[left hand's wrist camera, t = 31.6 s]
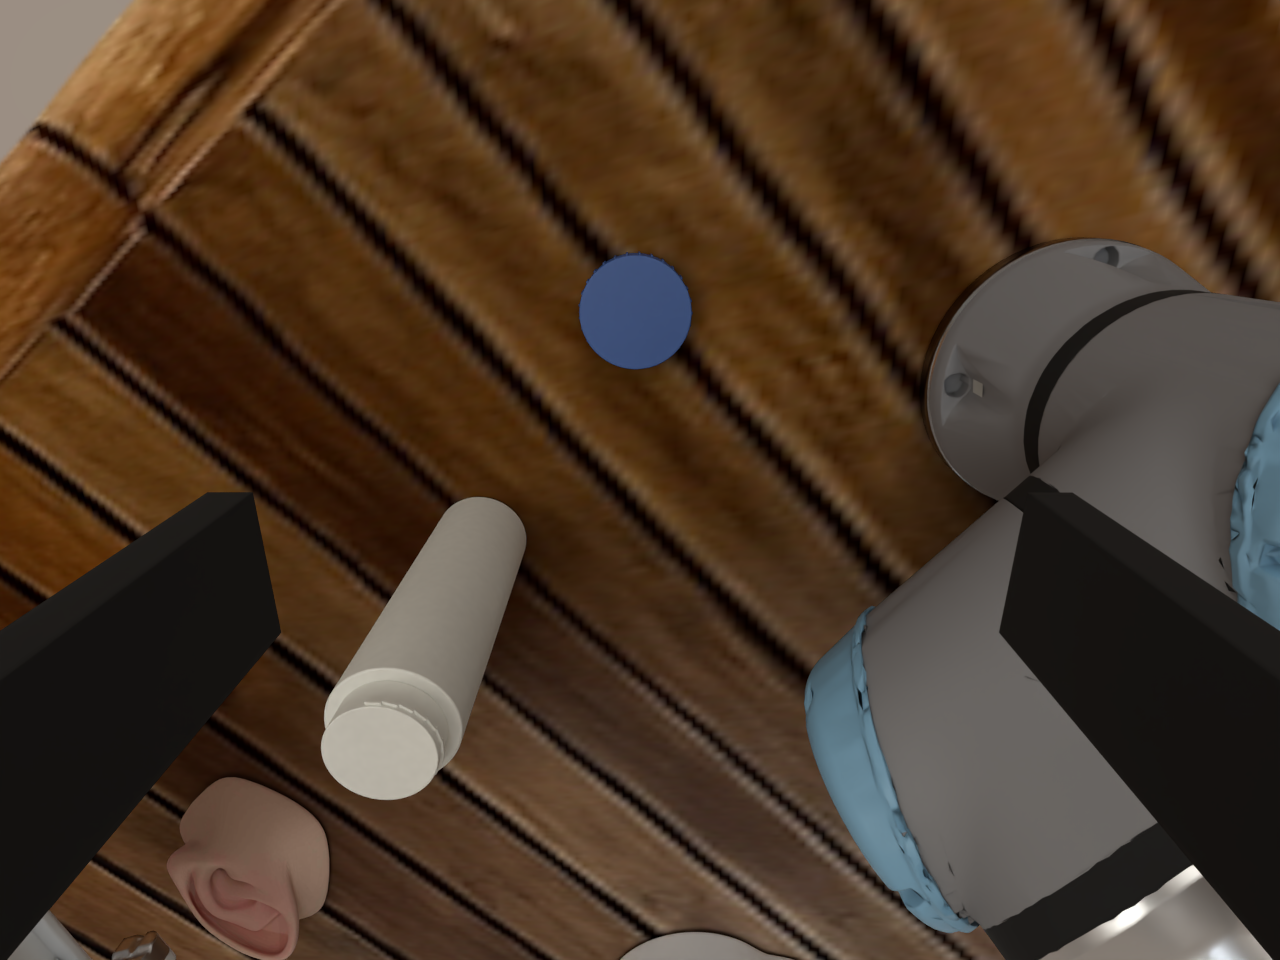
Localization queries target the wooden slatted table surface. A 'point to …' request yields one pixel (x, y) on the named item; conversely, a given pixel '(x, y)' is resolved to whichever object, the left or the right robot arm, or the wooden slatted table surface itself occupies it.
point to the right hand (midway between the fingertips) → (89, 876)
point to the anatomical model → (251, 866)
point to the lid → (635, 311)
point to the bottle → (425, 656)
